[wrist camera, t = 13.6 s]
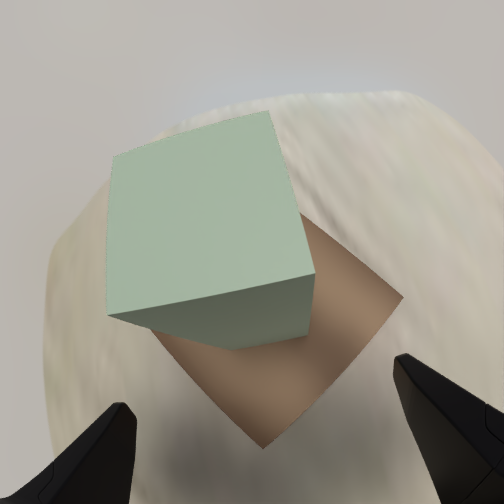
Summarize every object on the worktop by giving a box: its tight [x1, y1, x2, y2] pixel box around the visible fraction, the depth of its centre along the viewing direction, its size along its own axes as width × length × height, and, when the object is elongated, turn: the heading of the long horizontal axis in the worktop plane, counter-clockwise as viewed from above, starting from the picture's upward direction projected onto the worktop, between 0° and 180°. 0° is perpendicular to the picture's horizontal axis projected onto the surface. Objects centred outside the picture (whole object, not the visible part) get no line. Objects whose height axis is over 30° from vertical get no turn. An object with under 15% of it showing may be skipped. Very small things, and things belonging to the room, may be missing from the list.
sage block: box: [106, 111, 315, 350], centre depth 12 cm, size 4×4×12 cm
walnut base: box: [150, 212, 404, 449], centre depth 19 cm, size 12×12×3 cm
